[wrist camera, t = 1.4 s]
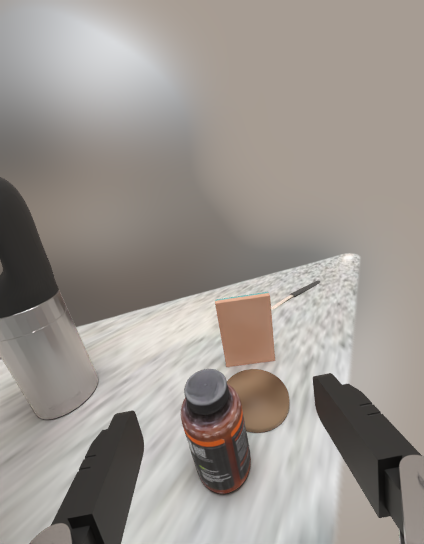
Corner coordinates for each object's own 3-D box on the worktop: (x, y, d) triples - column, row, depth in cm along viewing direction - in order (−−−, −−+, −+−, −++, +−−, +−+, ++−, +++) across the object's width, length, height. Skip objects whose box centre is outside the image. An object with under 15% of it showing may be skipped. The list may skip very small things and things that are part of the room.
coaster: (209, 397, 32) (208, 393, 32) (254, 364, 37) (253, 360, 36) (255, 449, 25) (254, 445, 25) (303, 400, 30) (303, 396, 29)
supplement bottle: (245, 429, 27) (234, 356, 23) (257, 491, 22) (244, 409, 18) (197, 437, 27) (177, 365, 23) (196, 501, 22) (170, 421, 18)
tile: (275, 360, 37) (270, 295, 33) (226, 367, 37) (215, 303, 33) (273, 355, 38) (268, 291, 34) (226, 361, 38) (215, 299, 34)
